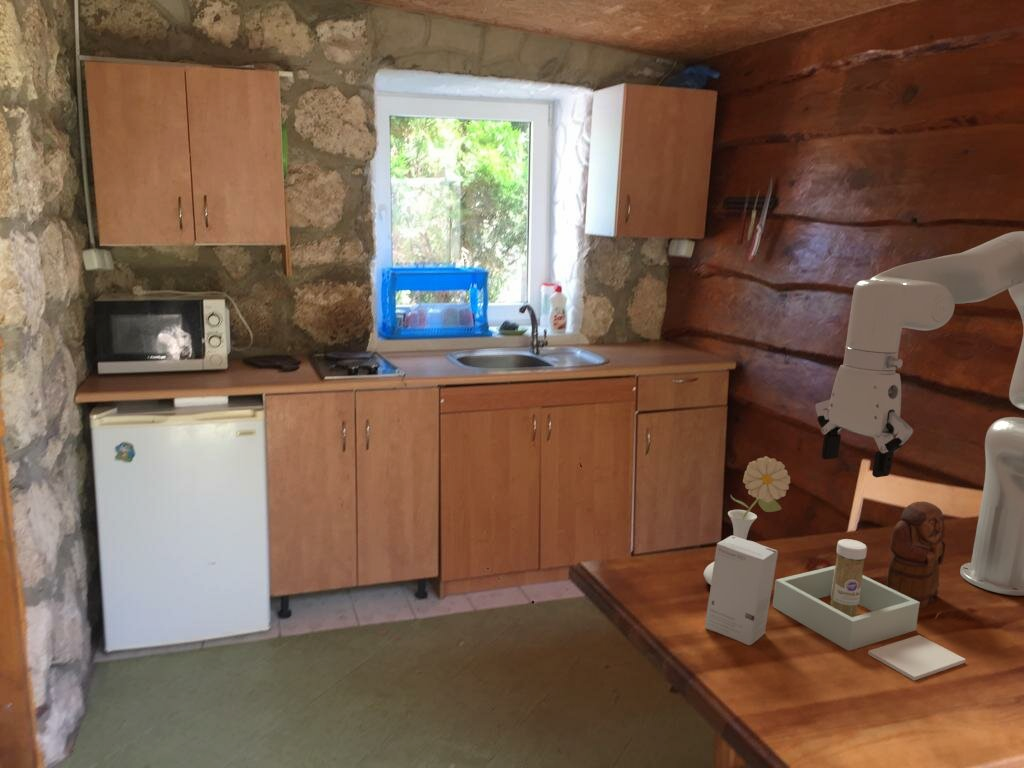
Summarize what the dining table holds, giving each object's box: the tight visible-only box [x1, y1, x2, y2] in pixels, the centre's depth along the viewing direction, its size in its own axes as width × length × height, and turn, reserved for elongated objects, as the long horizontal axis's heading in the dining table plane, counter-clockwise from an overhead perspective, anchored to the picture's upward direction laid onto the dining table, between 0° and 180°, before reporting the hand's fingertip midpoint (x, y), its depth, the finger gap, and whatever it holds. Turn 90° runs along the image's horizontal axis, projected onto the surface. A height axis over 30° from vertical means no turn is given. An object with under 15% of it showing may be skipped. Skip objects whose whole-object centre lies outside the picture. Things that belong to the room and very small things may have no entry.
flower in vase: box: [703, 456, 791, 586], centre depth 147 cm, size 13×11×25 cm
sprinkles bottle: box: [830, 538, 868, 617], centre depth 139 cm, size 5×5×14 cm
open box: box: [771, 564, 920, 652], centre depth 140 cm, size 16×16×5 cm
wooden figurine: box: [886, 501, 947, 609], centre depth 147 cm, size 12×6×18 cm, turn 130°
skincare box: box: [704, 534, 779, 646], centre depth 133 cm, size 8×6×15 cm
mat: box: [867, 634, 966, 681], centre depth 128 cm, size 12×8×1 cm, turn 118°
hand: (854, 466), depth 132 cm, fingers open, 9 cm apart
